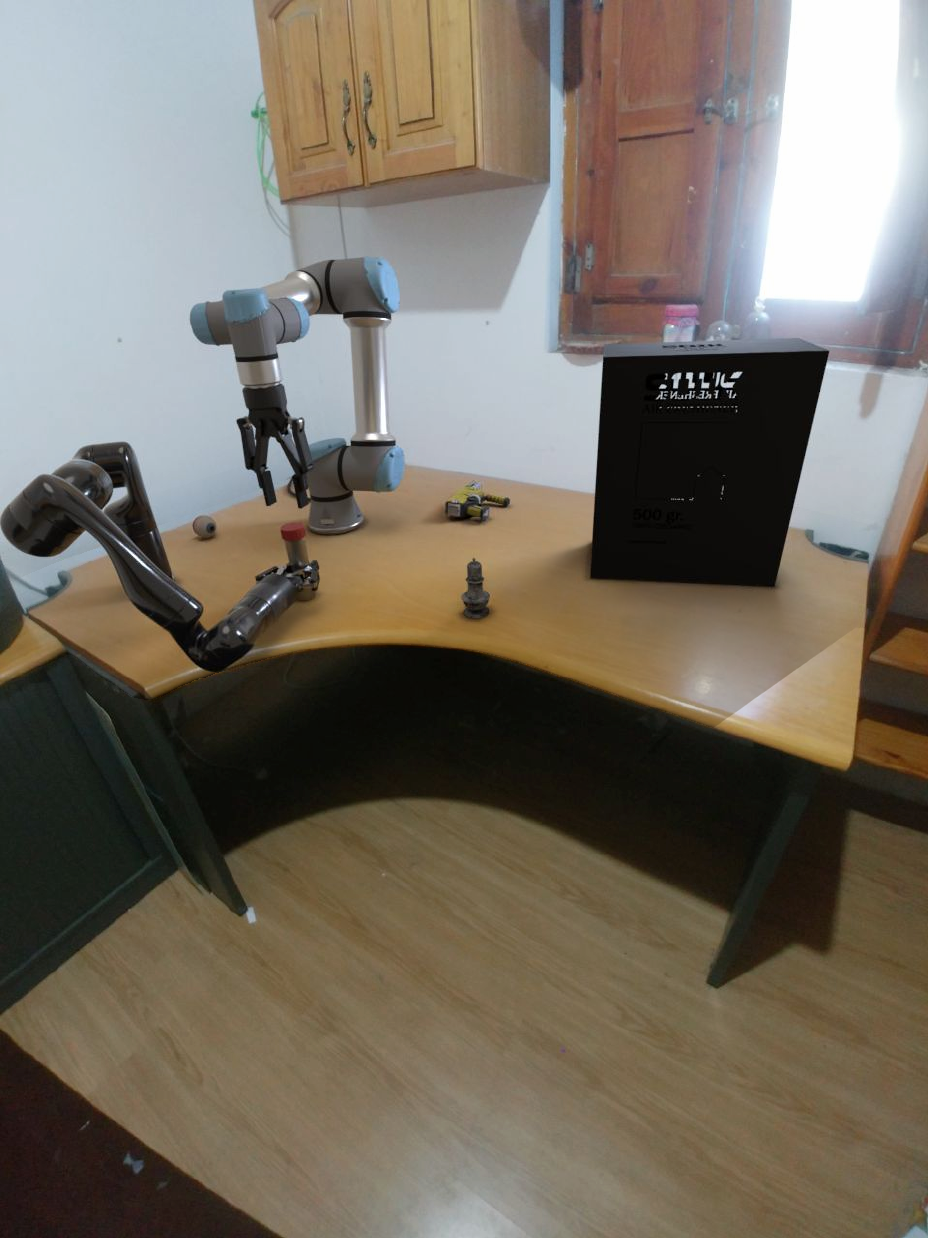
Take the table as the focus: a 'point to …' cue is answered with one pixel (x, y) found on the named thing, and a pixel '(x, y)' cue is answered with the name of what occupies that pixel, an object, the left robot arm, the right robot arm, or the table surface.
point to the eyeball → (204, 526)
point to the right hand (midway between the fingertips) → (287, 504)
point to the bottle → (299, 564)
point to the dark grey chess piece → (475, 592)
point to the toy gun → (472, 502)
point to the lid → (292, 531)
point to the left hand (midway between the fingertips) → (305, 563)
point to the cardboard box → (701, 458)
